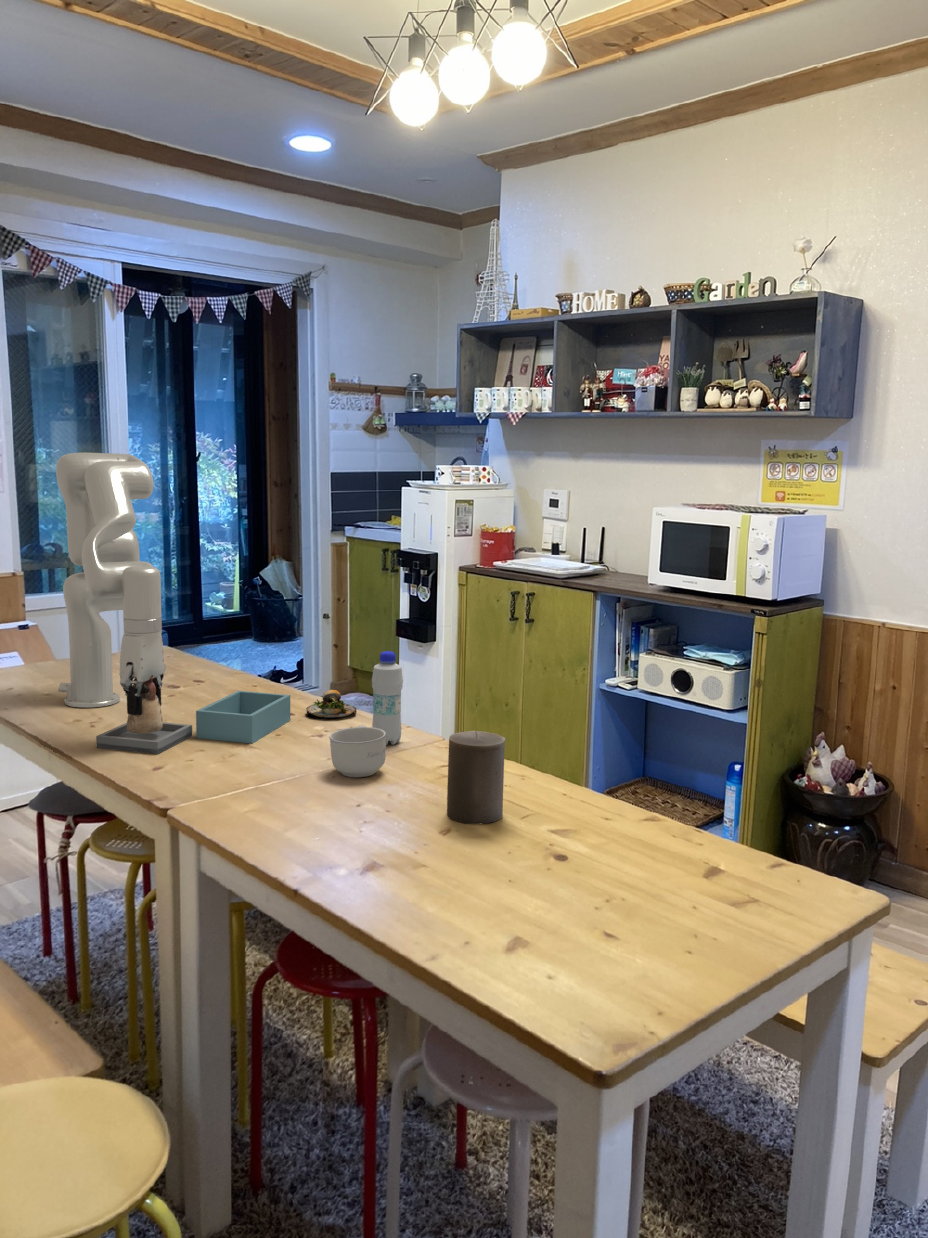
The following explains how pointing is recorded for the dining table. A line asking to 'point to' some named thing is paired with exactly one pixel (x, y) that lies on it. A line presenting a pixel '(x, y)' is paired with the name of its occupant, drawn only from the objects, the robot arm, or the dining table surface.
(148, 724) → the figurine
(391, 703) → the bottle
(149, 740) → the tray
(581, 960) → the dining table surface
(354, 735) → the teacup
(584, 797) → the dining table surface
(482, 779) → the pillar candle
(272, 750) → the dining table surface
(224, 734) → the tub
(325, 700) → the burger
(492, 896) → the dining table surface
